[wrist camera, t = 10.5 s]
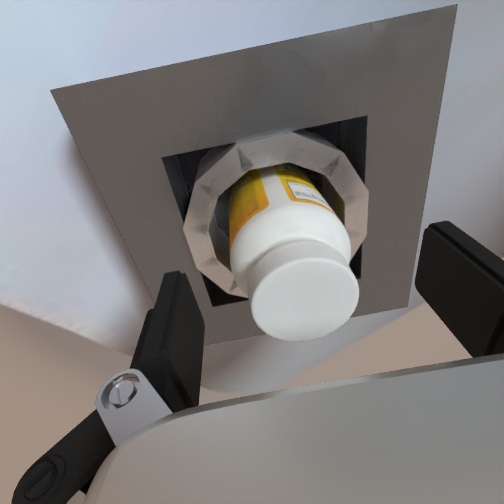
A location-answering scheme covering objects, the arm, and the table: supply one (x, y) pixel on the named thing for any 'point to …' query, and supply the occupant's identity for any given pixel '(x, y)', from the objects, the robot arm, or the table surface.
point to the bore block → (271, 151)
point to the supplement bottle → (290, 254)
